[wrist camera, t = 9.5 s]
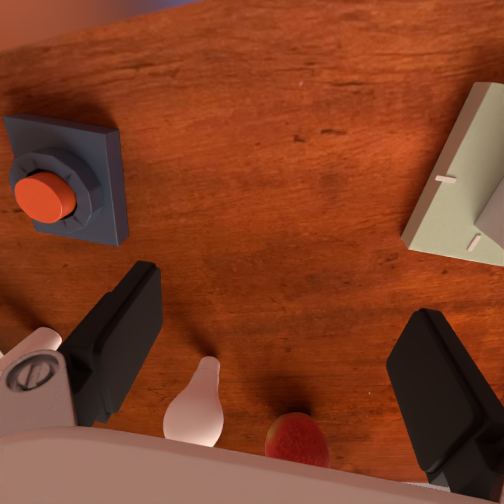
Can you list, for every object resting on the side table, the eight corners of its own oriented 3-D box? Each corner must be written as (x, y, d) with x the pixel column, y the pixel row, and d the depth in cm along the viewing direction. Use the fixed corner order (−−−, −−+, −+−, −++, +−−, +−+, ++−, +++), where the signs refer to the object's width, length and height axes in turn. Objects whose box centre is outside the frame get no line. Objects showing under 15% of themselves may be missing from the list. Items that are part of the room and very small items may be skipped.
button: (26, 167, 22) (8, 174, 21) (71, 175, 22) (56, 182, 21) (38, 210, 24) (21, 219, 23) (79, 217, 24) (65, 227, 23)
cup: (21, 321, 38) (-79, 412, 28) (57, 320, 37) (-34, 414, 27) (42, 350, 40) (-43, 442, 30) (75, 350, 39) (0, 444, 29)
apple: (330, 430, 42) (340, 519, 34) (276, 433, 44) (273, 517, 36) (319, 396, 38) (326, 487, 30) (261, 401, 41) (253, 487, 32)
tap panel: (465, 80, 19) (483, 80, 17) (621, 106, 19) (656, 109, 17) (393, 236, 26) (401, 248, 24) (509, 257, 25) (526, 272, 23)
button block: (24, 112, 24) (-20, 118, 20) (119, 129, 24) (90, 138, 20) (51, 221, 29) (19, 240, 26) (129, 236, 29) (107, 257, 25)
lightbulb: (244, 358, 36) (228, 456, 27) (218, 379, 39) (195, 474, 30) (204, 333, 35) (172, 428, 25) (179, 357, 38) (143, 450, 28)
